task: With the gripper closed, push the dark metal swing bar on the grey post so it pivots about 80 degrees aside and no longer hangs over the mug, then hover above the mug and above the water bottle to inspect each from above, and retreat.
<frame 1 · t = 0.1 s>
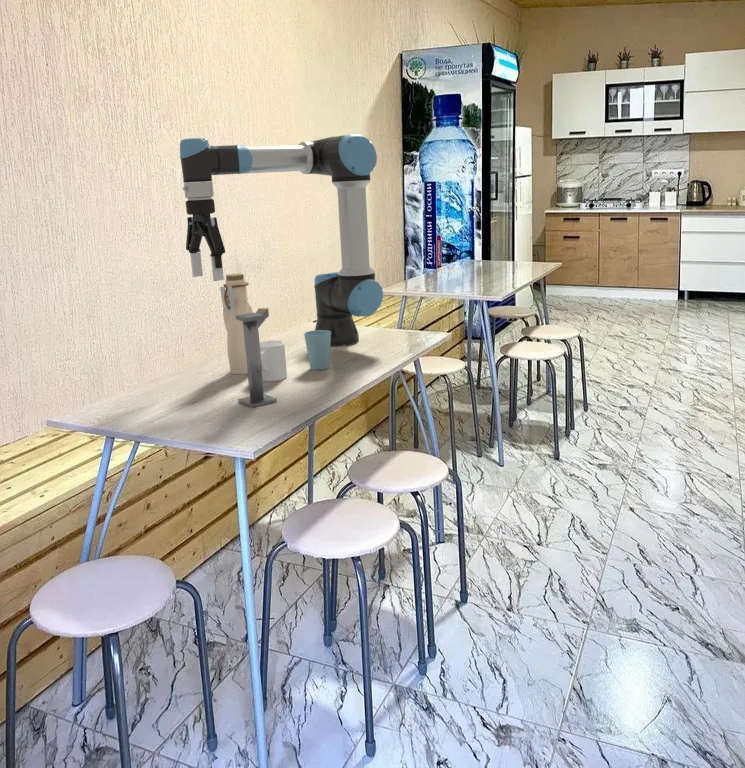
hand: (208, 278, 215), 28 cm above the table, fingers open, 13 cm apart
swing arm: (258, 318, 203), point 19 cm above the table, hinge at 0.0°
water bottle: (243, 372, 228), on the table
mug: (270, 380, 217), on the table
post: (257, 401, 197), on the table
cup: (320, 368, 228), on the table
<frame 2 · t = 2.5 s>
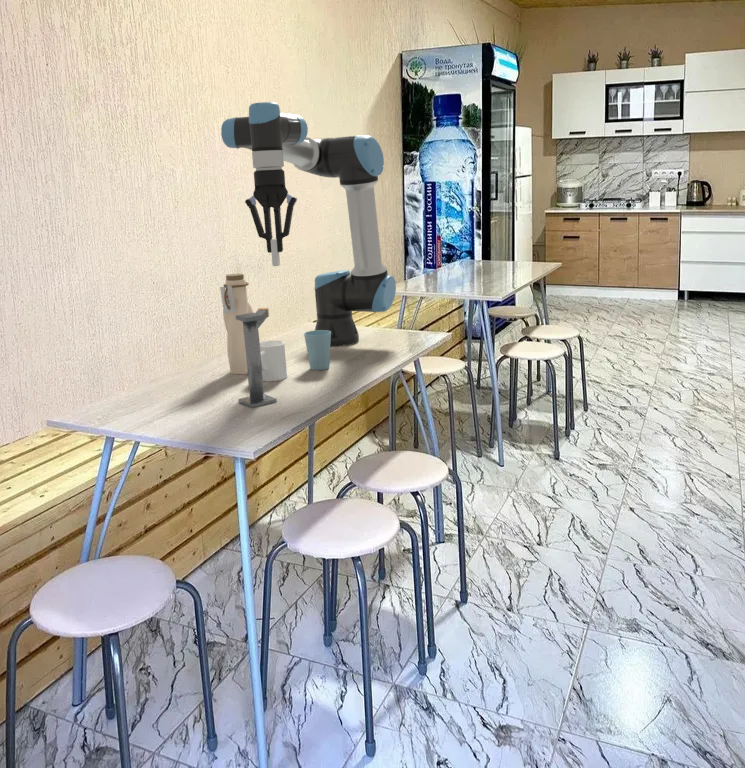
hand: (276, 265, 199), 32 cm above the table, fingers closed
nothing on the table moved.
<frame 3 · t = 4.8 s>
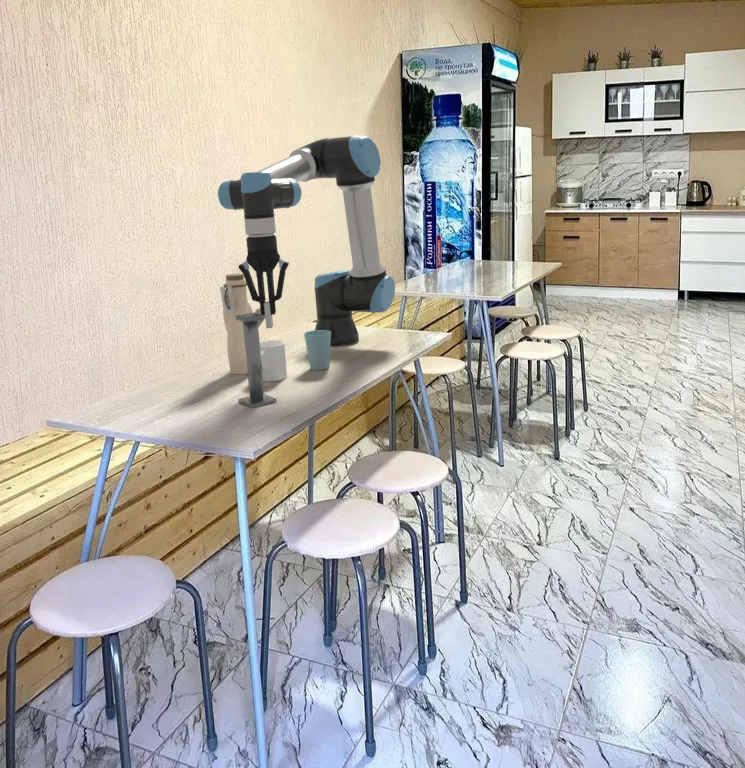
hand: (269, 327, 204), 16 cm above the table, fingers closed
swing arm: (257, 318, 203), point 19 cm above the table, hinge at 1.2°, touching gripper
everything else where it was.
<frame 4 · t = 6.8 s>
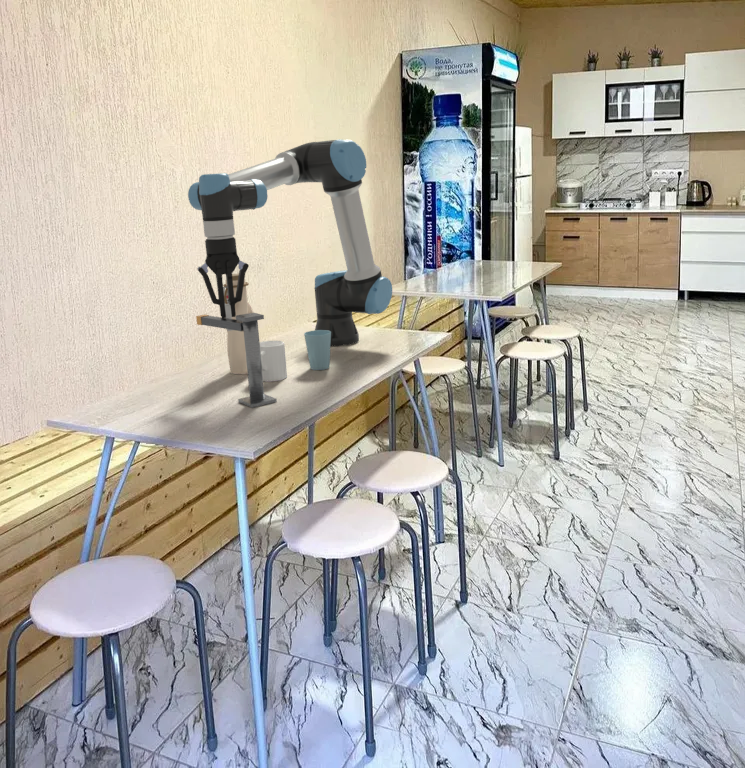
hand: (229, 329, 203), 17 cm above the table, fingers closed
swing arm: (222, 322, 199), point 19 cm above the table, hinge at 47.8°, touching gripper
everything else where it was.
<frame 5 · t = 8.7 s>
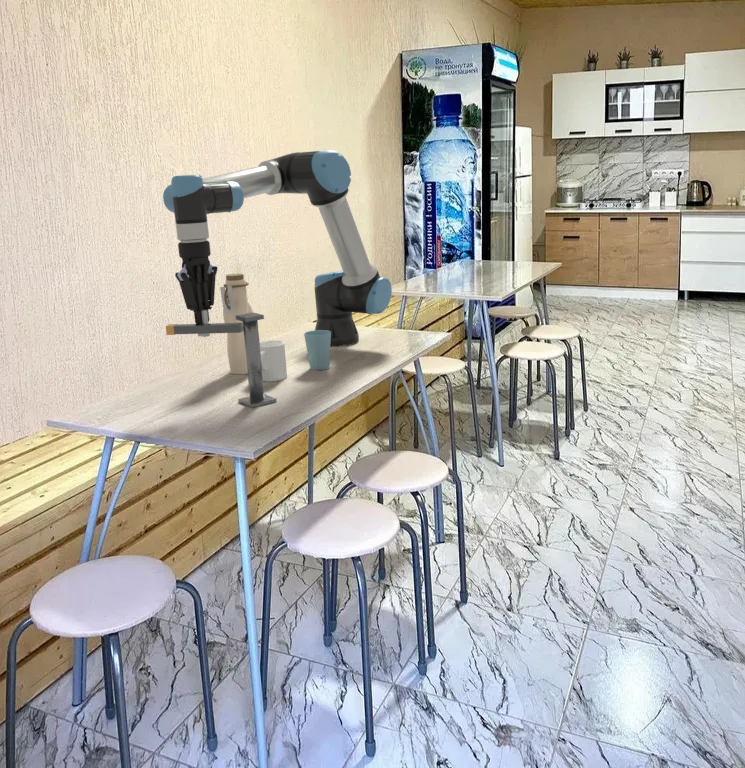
hand: (203, 335, 197), 17 cm above the table, fingers closed
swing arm: (204, 328, 193), point 19 cm above the table, hinge at 84.5°, touching gripper
everything else where it was.
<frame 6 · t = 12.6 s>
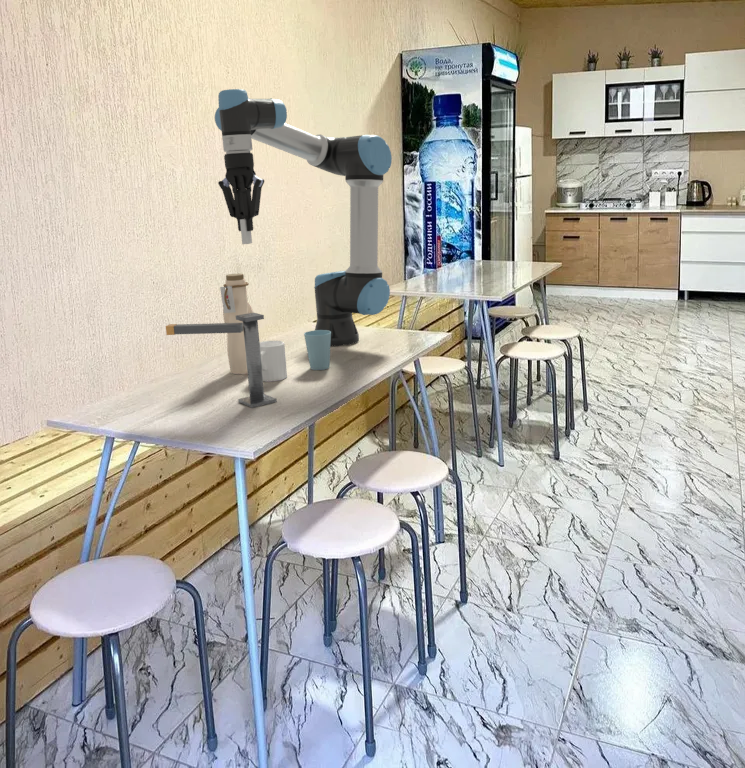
hand: (247, 243, 212), 37 cm above the table, fingers closed
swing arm: (204, 328, 193), point 19 cm above the table, hinge at 84.6°
everything else where it was.
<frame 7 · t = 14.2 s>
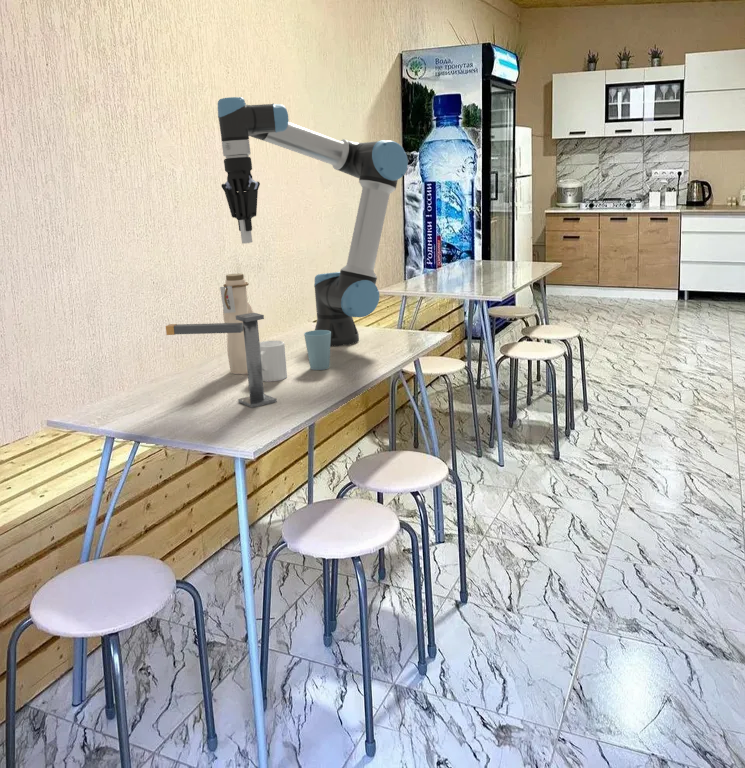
hand: (247, 242, 224), 36 cm above the table, fingers closed
nothing on the table moved.
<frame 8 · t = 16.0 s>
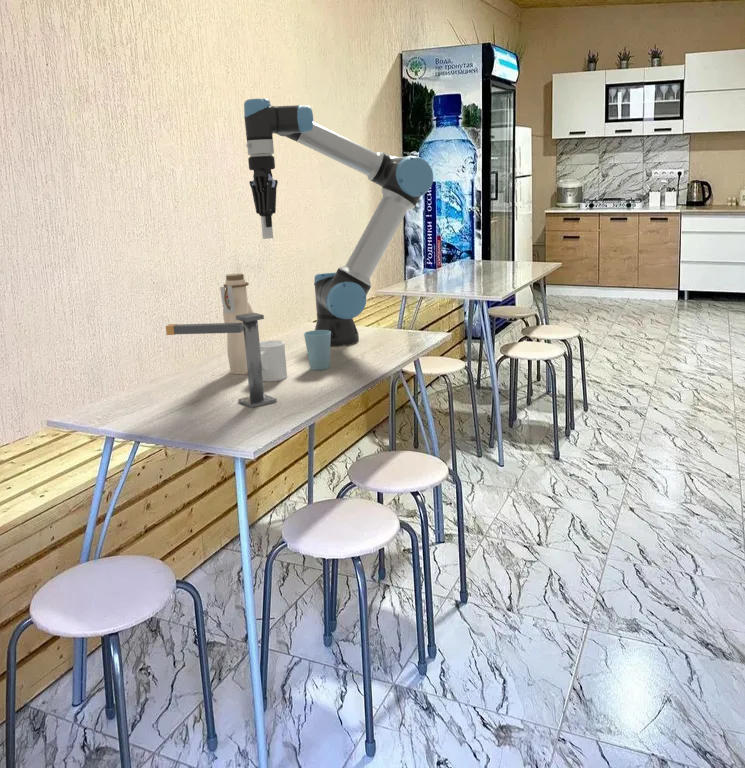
hand: (267, 238, 233), 36 cm above the table, fingers closed
nothing on the table moved.
at the end: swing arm at +85° (first picture: +0°); mug moved 0.2 cm from its start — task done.
